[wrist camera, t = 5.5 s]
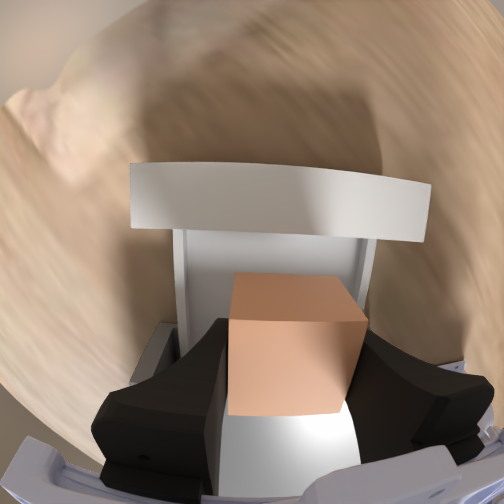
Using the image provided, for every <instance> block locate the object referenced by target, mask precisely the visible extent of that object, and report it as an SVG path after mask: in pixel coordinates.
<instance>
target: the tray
mask: <svg viewBox="0 0 504 504" xmlns="http://www.w3.org/2000/svg"><path fill="white" fill-rule="evenodd" d="M430 193H431V184H426V183H421V182H416V181H410V180H404V179H398V178H392V177H386V176H379V175H372V174H365V173H358V172H350V171H341V170H333V169H323V168H313V167H302V166H289V165H275V164H257V163H233V162H151V163H130V215H131V228H144V229H173V255H174V278H175V296H176V310H177V323H178V335H179V345H180V355H181V358H182V357H183V356H184V355H185V354H186V353H187V352H188V351H189V350H190V349H191V348H192V347H194V346H195V345H196V344H197V342H198V341H199V340H200V339H201V338H202V337H203V336H204V334H205V333H206V332H207V331H208V330H209V328H210V327H211V325H212V324H213V323H214V321H215V320H216V319H217V318H229V315H230V307H231V299H232V291H233V283H234V275H235V272H248V273H271V274H296V275H325V276H337V277H338V278H339V280H340V281H341V282H342V284H343V285H344V287H345V288H346V289H347V291H348V292H349V293H350V295H351V296H352V298H353V299H354V300H355V302H356V303H357V305H358V306H359V308H360V309H361V310H362V312H363V311H364V306H365V302H366V297H367V293H368V288H369V283H370V277H371V272H372V267H373V261H374V255H375V249H376V243H377V239H383V240H398V241H412V242H424V236H425V230H426V224H427V217H428V210H429V202H430Z"/></svg>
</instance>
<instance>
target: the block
mask: <svg viewBox="0 0 504 504" xmlns="http://www.w3.org/2000/svg"><path fill="white" fill-rule="evenodd" d="M368 322H369V320H368V319H367V318H366V316H365V315H364V313H363V312H362V310H361V309H360V308H359V306H358V305H357V303H356V302H355V300H354V299H353V298H352V296H351V295H350V293H349V292H348V291H347V289H346V288H345V287H344V285H343V284H342V282H341V281H340V280H339V278H338V277H337V276H325V275H296V274H271V273H248V272H235V275H234V283H233V291H232V299H231V307H230V315H229V345H228V415H237V416H304V415H321V414H334V413H340V411H341V408H342V406H343V403H344V400H345V397H346V395H347V392H348V389H349V386H350V383H351V380H352V377H353V374H354V371H355V368H356V364H357V361H358V358H359V355H360V351H361V348H362V344H363V341H364V337H365V333H366V330H367V326H368Z"/></svg>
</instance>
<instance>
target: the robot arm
mask: <svg viewBox="0 0 504 504" xmlns="http://www.w3.org/2000/svg"><path fill="white" fill-rule="evenodd" d="M228 345H229V318H217V319H216V320H215V321H214V323H213V324H212V325H211V327H210V328H209V330H208V331H207V332H206V333H205V334H204V336H203V337H202V338H201V339H200V340H199V341H198V342H197V344H196V345H195V346H194V347H192V348H191V349H190V350H189V351H188V352H187V353H186V354H185V355H184V356H183V357H182V358H180V359H179V360H178V361H177V362H175V363H174V364H173V365H171V366H170V367H168V368H167V369H165V370H163V371H162V372H160V373H158V374H157V375H155V376H153V377H151V378H149V379H147V380H144V381H142V382H140V383H137V384H135V385H132V386H129V387H126V388H123V389H120V390H117V391H113V392H110V393H109V395H108V396H107V398H106V399H105V400H104V402H103V404H102V405H101V407H100V409H99V411H98V413H97V415H96V417H95V419H94V421H93V423H92V425H91V432H92V435H93V437H94V439H95V441H96V443H97V444H98V446H99V448H100V450H101V451H102V453H103V455H104V457H105V458H106V461H105V464H104V467H103V469H102V472H101V474H99V473H96V472H92V471H90V470H87V469H84V468H81V467H78V466H76V465H73V464H70V463H68V462H65V460H64V458H63V457H62V455H61V454H60V453H59V452H58V451H57V450H56V449H55V448H53V447H52V446H50V445H48V444H45V443H43V442H41V441H39V440H36V439H35V438H32V437H30V436H27V437H26V438H25V440H24V441H23V443H22V444H21V446H20V448H19V449H18V451H17V453H16V454H15V456H14V458H13V460H12V461H11V463H10V465H9V467H8V468H7V470H6V472H5V474H4V476H3V478H2V479H1V481H0V484H1V486H2V487H3V488H4V489H5V490H6V491H8V492H9V493H10V494H11V495H12V496H13V497H14V498H15V499H17V500H18V501H19V502H20V503H21V504H485V503H486V504H504V428H503V429H502V430H501V429H500V428H499V427H498V426H494V427H493V423H494V413H493V408H492V405H491V402H492V400H493V397H494V388H493V386H492V385H491V384H490V383H489V382H488V380H487V379H486V378H485V377H484V376H479V375H471V374H467V373H466V372H465V371H464V368H465V366H466V362H465V361H459V362H455V363H450V364H445V365H440V366H434V365H432V364H429V363H426V362H424V361H421V360H419V359H417V358H415V357H413V356H411V355H409V354H407V353H405V352H403V351H401V350H400V349H398V348H396V347H394V346H393V345H391V344H390V343H388V342H386V341H385V340H383V339H382V338H380V337H379V336H377V335H376V334H375V333H373V332H372V331H370V330H369V329H367V330H366V333H365V337H364V341H363V344H362V348H361V351H360V355H359V358H358V361H357V364H356V368H355V371H354V374H353V377H352V380H351V383H350V386H349V389H348V392H347V395H346V397H345V401H346V404H347V407H348V409H349V412H350V415H351V418H352V421H353V425H354V429H355V434H356V438H357V443H358V449H359V454H360V461H361V465H355V466H351V467H347V468H344V469H340V470H336V471H333V472H331V473H329V474H327V475H324V476H322V477H320V478H318V479H316V480H315V481H314V482H313V483H312V484H311V485H310V486H309V487H308V488H307V489H306V490H305V491H304V493H303V495H302V496H290V497H266V498H245V497H221V496H218V495H219V472H220V453H221V437H222V424H223V417H224V411H225V406H226V400H227V395H228ZM488 436H490V439H491V440H490V439H489V437H488Z"/></svg>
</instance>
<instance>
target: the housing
mask: <svg viewBox="0 0 504 504" xmlns="http://www.w3.org/2000/svg"><path fill="white" fill-rule="evenodd" d="M367 329H369V330H370V331H372V330H371V329H370V327H368V328H367ZM180 358H181V355H180V345H179V335H178V324H176V323H164V322H159V323H158V325H157V327H156V329H155V331H154V333H153V335H152V337H151V339H150V341H149V343H148V345H147V347H146V349H145V351H144V353H143V355H142V357H141V359H140V361H139V363H138V365H137V367H136V369H135V371H134V373H133V375H132V377H131V379H130V381H129V383H130V386H132V385H135V384H137V383H140V382H142V381H144V380H147V379H149V378H151V377H153V376H155V375H157V374H158V373H160V372H162V371H163V370H165V369H167V368H168V367H170V366H171V365H173V364H174V363H175V362H177V361H178V360H179V359H180ZM355 465H361V461H360V454H359V449H358V443H357V438H356V434H355V429H354V425H353V421H352V418H351V415H350V412H349V409H348V407H347V404H346V401H345V400H344V403H343V406H342V408H341V411H340V413H334V414H321V415H304V416H237V415H228V395H227V400H226V406H225V411H224V417H223V424H222V437H221V453H220V472H219V495H218V496H221V497H245V498H266V497H290V496H302V495H303V493H304V491H305V490H306V489H307V488H308V487H309V486H310V485H311V484H312V483H313V482H314V481H315V480H316V479H318V478H320V477H322V476H324V475H327V474H329V473H331V472H333V471H336V470H340V469H344V468H347V467H351V466H355Z"/></svg>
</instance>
